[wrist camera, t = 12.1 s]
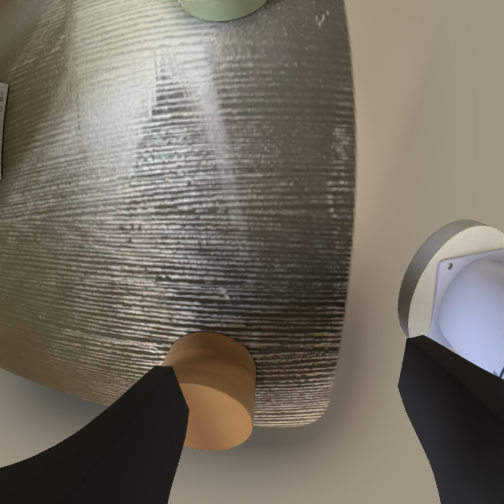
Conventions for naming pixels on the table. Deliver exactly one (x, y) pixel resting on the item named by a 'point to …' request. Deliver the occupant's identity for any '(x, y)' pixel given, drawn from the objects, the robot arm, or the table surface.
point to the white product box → (2, 113)
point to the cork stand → (215, 389)
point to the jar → (220, 8)
